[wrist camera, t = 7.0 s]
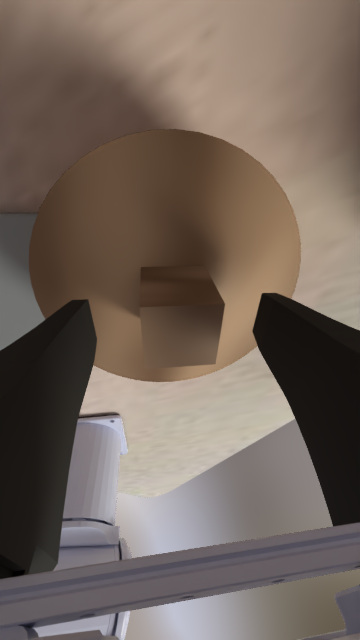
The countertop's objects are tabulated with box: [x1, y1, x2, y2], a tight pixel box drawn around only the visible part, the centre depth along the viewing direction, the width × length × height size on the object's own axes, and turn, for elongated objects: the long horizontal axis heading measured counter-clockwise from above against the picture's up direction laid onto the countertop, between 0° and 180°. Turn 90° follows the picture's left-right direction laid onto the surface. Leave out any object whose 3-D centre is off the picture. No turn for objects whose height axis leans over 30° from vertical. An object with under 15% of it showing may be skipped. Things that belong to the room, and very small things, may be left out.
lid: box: [29, 129, 301, 382], centre depth 11 cm, size 13×13×4 cm
